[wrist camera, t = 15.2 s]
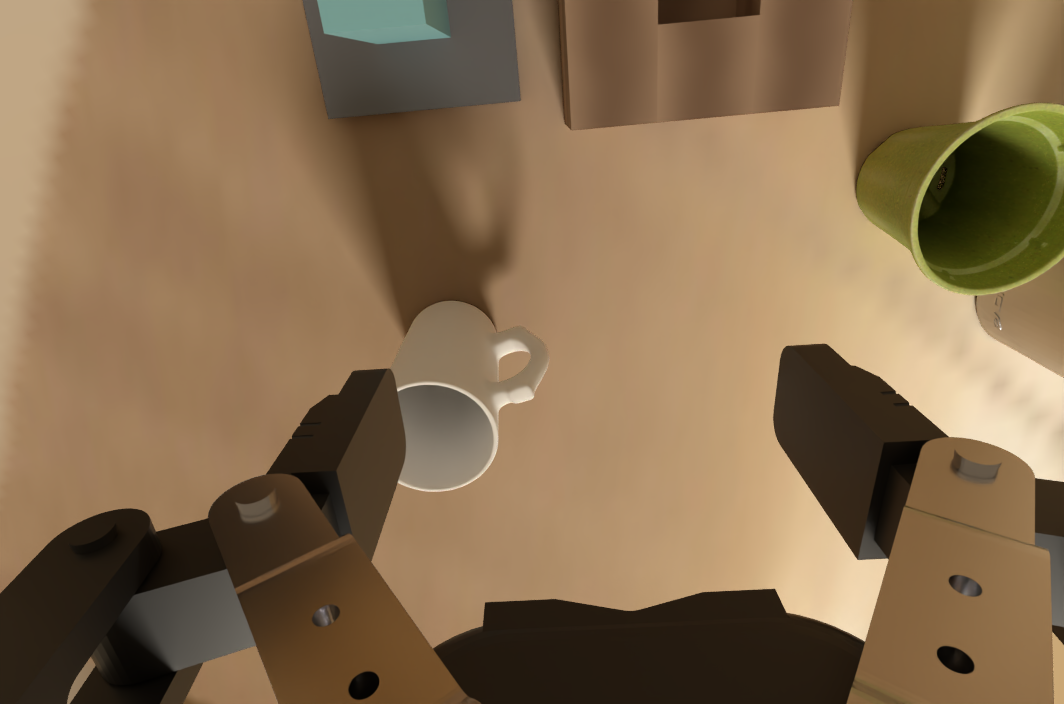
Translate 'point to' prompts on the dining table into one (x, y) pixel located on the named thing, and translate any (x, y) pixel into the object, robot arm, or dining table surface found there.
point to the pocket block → (698, 58)
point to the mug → (457, 392)
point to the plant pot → (974, 197)
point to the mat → (421, 64)
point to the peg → (385, 20)
